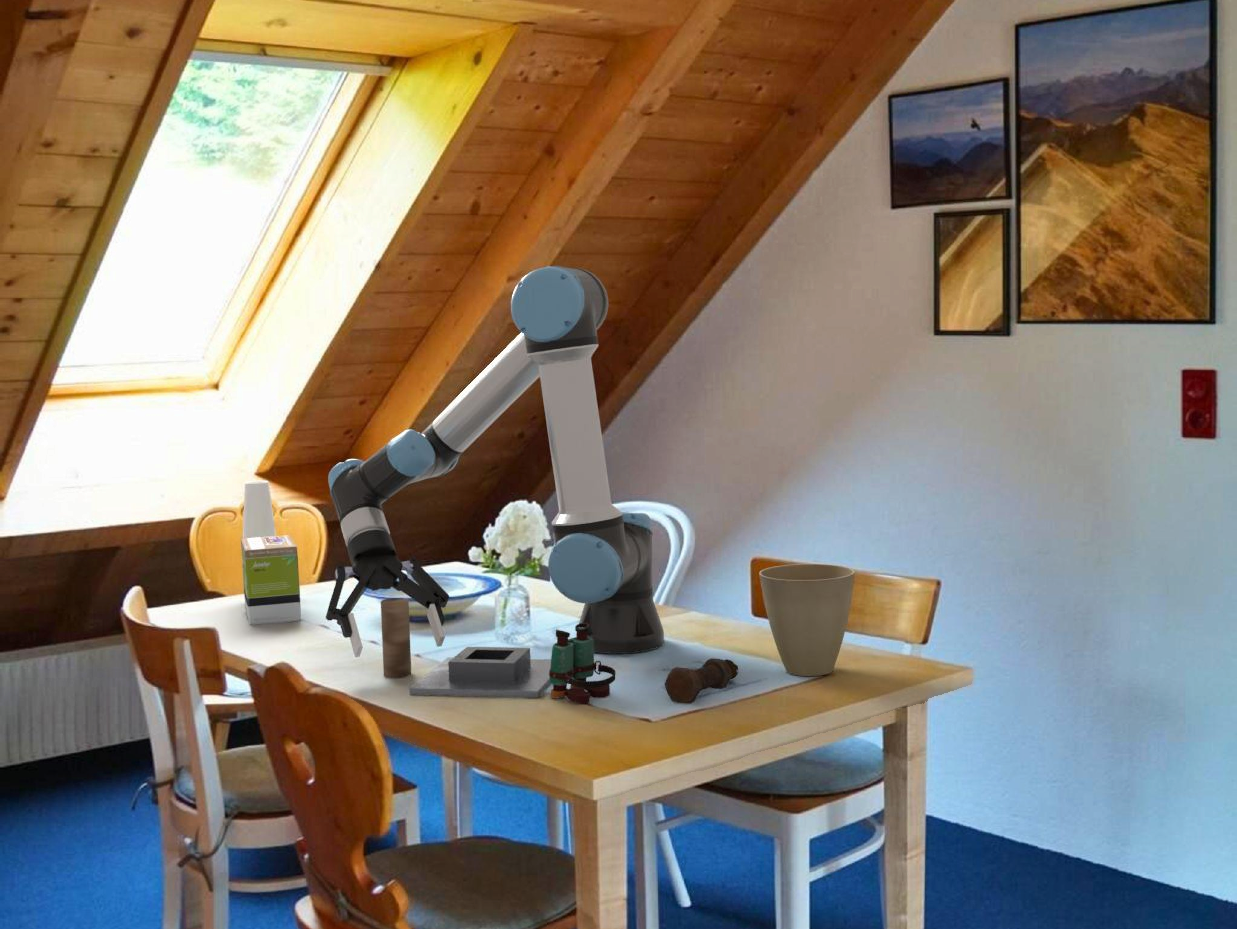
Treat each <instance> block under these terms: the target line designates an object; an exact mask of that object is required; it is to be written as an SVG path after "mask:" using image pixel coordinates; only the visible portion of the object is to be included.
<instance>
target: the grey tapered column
mask: <svg viewBox="0 0 1237 929" xmlns="http://www.w3.org/2000/svg"><path fill="white" fill-rule="evenodd" d="M270 488H271V487H270V483H269V481H268V480H252V481H251V480H250V481H245V482H244V493H243V494H244V495H243V497H244V498H243V499H244V501H243V517H242V521H243V522H242V539H246V538H256V537H266V536H277V532H276V530H277V529H276V524H275V518H274V510H273V504H272V497H271V489H270Z"/></svg>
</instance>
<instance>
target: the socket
mask: <svg viewBox="0 0 1237 929" xmlns="http://www.w3.org/2000/svg"><path fill="white" fill-rule="evenodd" d="M550 666H551V659H547V658H545V659H541V658H531V647H511V646H510V647H507V646H505V647H504V646H503V647H501V646H499V647H498V646H467V647H465V648H463V649H462V650H461V651H460V652H459V653H458V654H456V655H455V656H453V657H448V656H447V658H445V659H444V660H443V661H441V662H440V663H438V665H436V666H435V667H434V668H432V669H431V670H430V671H429V672H428V673H426V674H425V675H424V676H423V677H422V678H420V679H419V680H418V681H417V682H415V683H414V684H413V685H411V686H410V687H409V689H408V691H409V696H410V695H411V696H414V695H415V696H417V695H418V696H450V697H451V696H453V697H486V698H487V697H490V698H491V697H493V698H494V697H495V698H529V699H530V698H532V699H535V698H536V699H539V697H540V696H541V695H542V694H543V693H544V692H545V690H546V689H547V688H548V687H549V686H550V685H552V684H551V683H550V682H549V679H550V676H549V670H550Z"/></svg>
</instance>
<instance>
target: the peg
mask: <svg viewBox="0 0 1237 929" xmlns="http://www.w3.org/2000/svg"><path fill="white" fill-rule="evenodd" d="M409 603H410V602H409V599H408V598H404V597H401V598H399V597H393V598H386V599H383V600H381V601H380V616H381V618H380V619H381V620H380V621H381V640H382V644H381V645H382V665H383V667H382V668H383V677H385V678H389V679H390V678H391V679H399V678H400V679H401V678H406V677H409V676H411V675H412V657H411V656H412V654H411V635H410V633H411V630H410V605H409Z"/></svg>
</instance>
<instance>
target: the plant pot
mask: <svg viewBox="0 0 1237 929" xmlns="http://www.w3.org/2000/svg"><path fill="white" fill-rule="evenodd" d="M758 574H759V575H758V576H759V580H760V582H759V583H760V586H761V587H760V588H761V591H762V599H763V603H764V609H765V611H766V615H767V620H768V623H769V627H770V630H771V634H772V636H773V640H774V643H775V646H776V650H777V652H778V654H779V657H780V660H781V662H782V665H783V667H784V670H785V671H786V673H788V674H790V675H793V676H799V677H818V676H819V677H821V676H823V675H829V674H830V673H832V672H833V671H834V669H835V665H836V663H837V660H838V657H839V654H840V650H841V647H842V644H843V642H844V641H843V640H844V637H845V633H846V628H847V625H848V620H849V615H850V611H851V605H852V598H853V591H854V584H855V576H856V571H855V569H853V568H851V567H848V566H843V565H838V564H826V563H797V564H794V563H793V564H786V565H785V564H784V565H778V566H772V567H767V568H764V569H762V570H760V571H759V572H758Z"/></svg>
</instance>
